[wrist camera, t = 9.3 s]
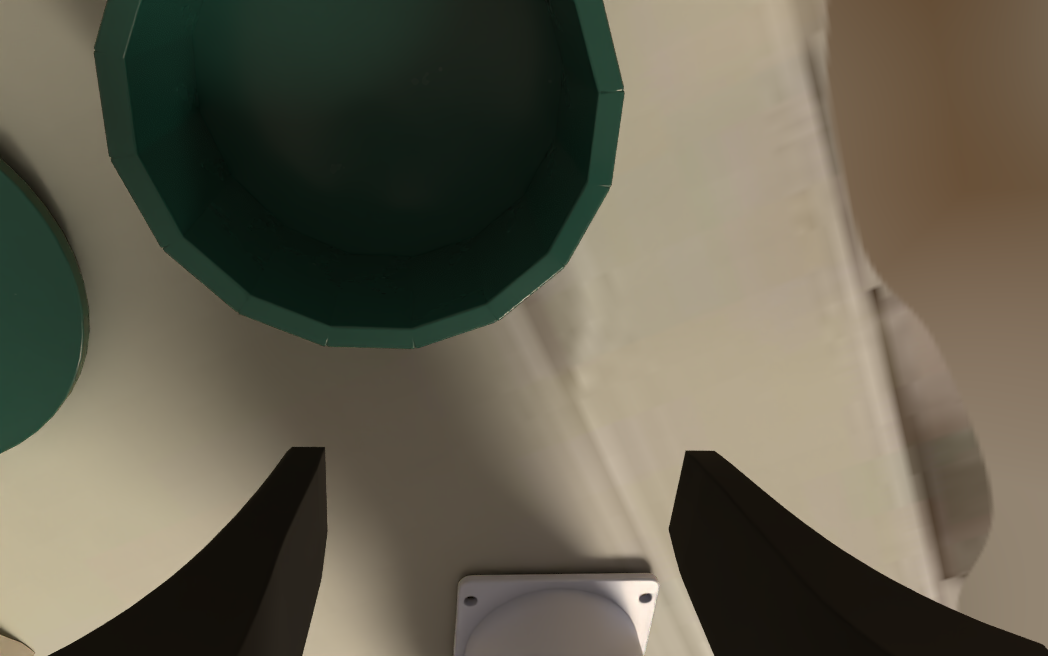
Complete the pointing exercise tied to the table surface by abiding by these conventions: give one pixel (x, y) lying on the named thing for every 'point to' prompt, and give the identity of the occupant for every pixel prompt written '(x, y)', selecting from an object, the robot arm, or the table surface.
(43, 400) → the lid
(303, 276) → the pot
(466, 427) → the table surface
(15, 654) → the cat figurine
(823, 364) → the table surface
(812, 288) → the table surface
